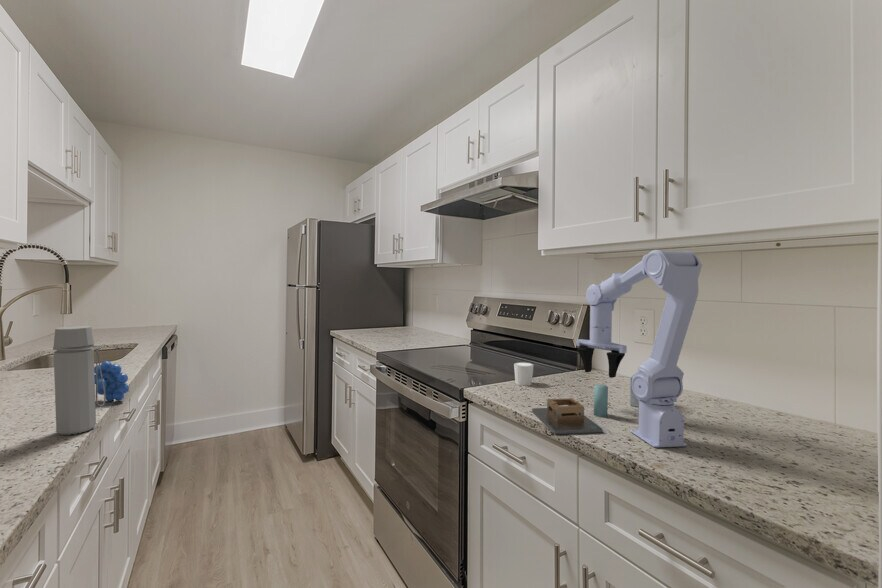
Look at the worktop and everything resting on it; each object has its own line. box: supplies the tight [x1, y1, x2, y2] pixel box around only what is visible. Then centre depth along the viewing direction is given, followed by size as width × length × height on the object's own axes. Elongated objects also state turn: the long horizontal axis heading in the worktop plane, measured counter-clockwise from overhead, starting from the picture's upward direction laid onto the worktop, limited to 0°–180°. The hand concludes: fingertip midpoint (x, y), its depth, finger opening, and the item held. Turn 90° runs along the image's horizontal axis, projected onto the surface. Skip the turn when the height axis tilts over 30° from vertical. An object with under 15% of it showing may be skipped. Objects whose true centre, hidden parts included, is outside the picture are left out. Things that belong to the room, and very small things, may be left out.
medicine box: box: [629, 373, 639, 408], centre depth 118 cm, size 8×4×9 cm, turn 143°
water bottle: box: [52, 325, 106, 436], centre depth 95 cm, size 9×8×25 cm
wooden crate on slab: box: [531, 397, 603, 435], centre depth 103 cm, size 16×12×5 cm
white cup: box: [513, 361, 534, 387], centre depth 140 cm, size 7×7×7 cm
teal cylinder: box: [593, 384, 609, 418], centre depth 108 cm, size 4×4×8 cm
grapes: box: [94, 360, 130, 402], centre depth 116 cm, size 12×7×12 cm, turn 82°
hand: (599, 374), depth 113 cm, fingers open, 7 cm apart
